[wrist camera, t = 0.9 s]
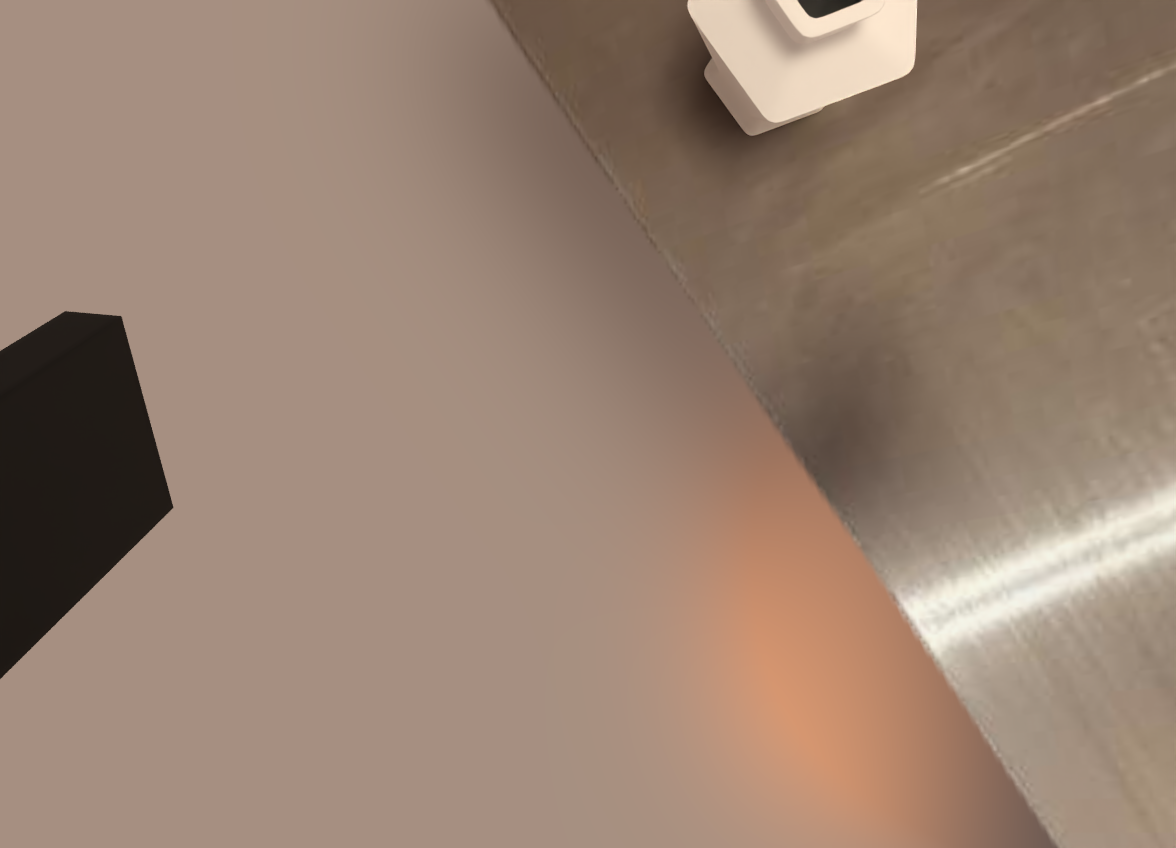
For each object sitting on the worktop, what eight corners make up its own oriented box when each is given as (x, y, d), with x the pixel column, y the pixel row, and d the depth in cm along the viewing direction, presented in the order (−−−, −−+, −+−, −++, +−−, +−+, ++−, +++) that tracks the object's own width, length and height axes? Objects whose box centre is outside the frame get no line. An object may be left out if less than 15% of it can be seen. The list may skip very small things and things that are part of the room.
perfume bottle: (787, 177, 32) (859, 167, 18) (674, 97, 32) (652, 20, 18) (878, 49, 31) (1033, -73, 17) (761, -35, 31) (814, -232, 17)
